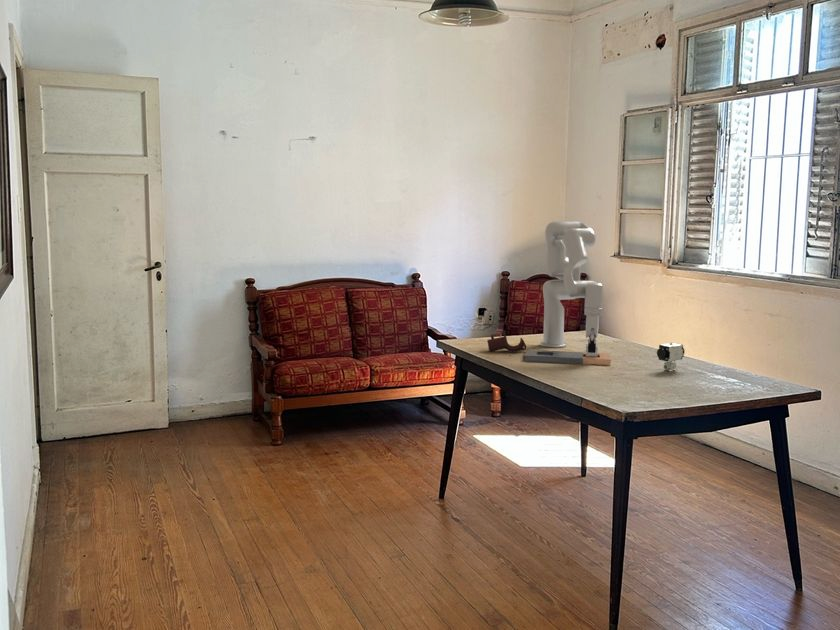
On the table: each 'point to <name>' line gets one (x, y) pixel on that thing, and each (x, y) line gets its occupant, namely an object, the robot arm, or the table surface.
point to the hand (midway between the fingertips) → (591, 350)
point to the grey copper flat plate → (567, 357)
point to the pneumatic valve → (670, 354)
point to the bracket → (504, 344)
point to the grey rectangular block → (591, 353)
